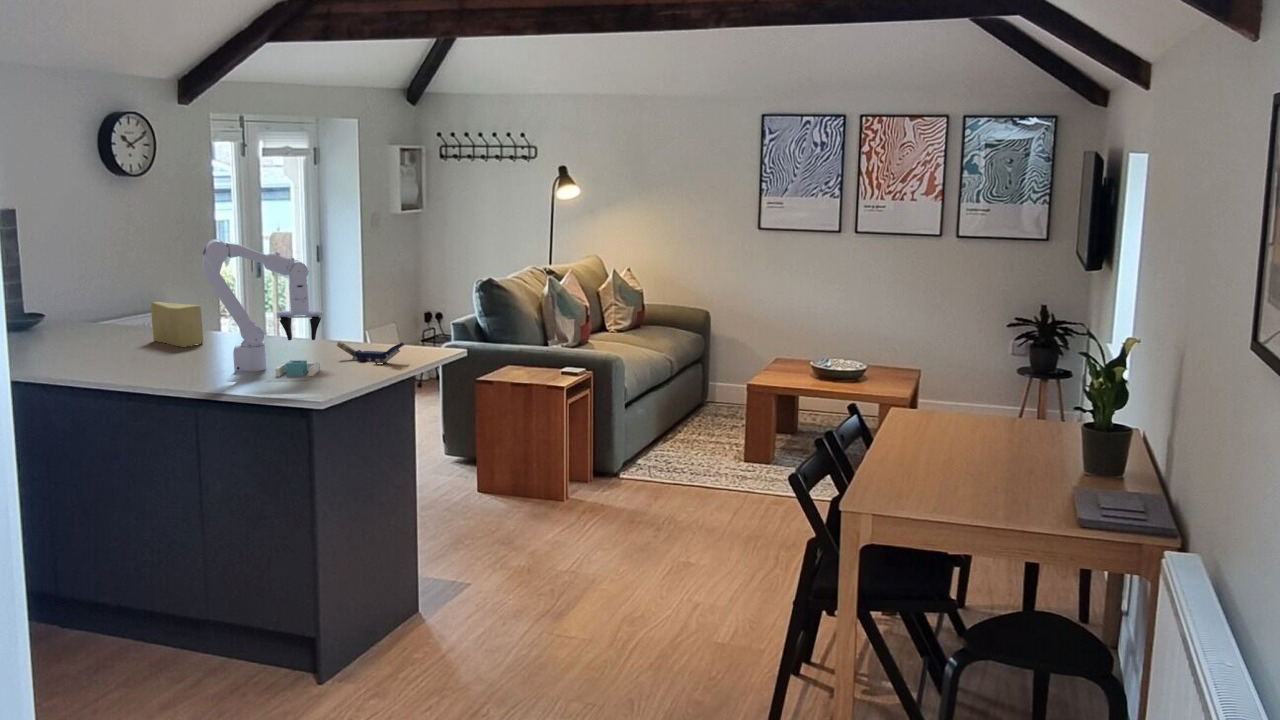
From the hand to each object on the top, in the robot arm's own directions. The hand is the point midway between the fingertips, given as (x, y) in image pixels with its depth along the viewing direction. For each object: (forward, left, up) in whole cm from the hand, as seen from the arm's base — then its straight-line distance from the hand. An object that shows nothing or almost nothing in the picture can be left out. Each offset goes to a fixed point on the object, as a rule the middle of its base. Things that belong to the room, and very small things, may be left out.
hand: (301, 339), depth 371 cm
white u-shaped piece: (+2, -14, -8) cm, 16 cm away
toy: (+20, +8, -10) cm, 24 cm away
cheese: (-60, +50, -10) cm, 79 cm away
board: (+4, -12, -9) cm, 16 cm away
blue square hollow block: (+2, -15, -8) cm, 17 cm away
